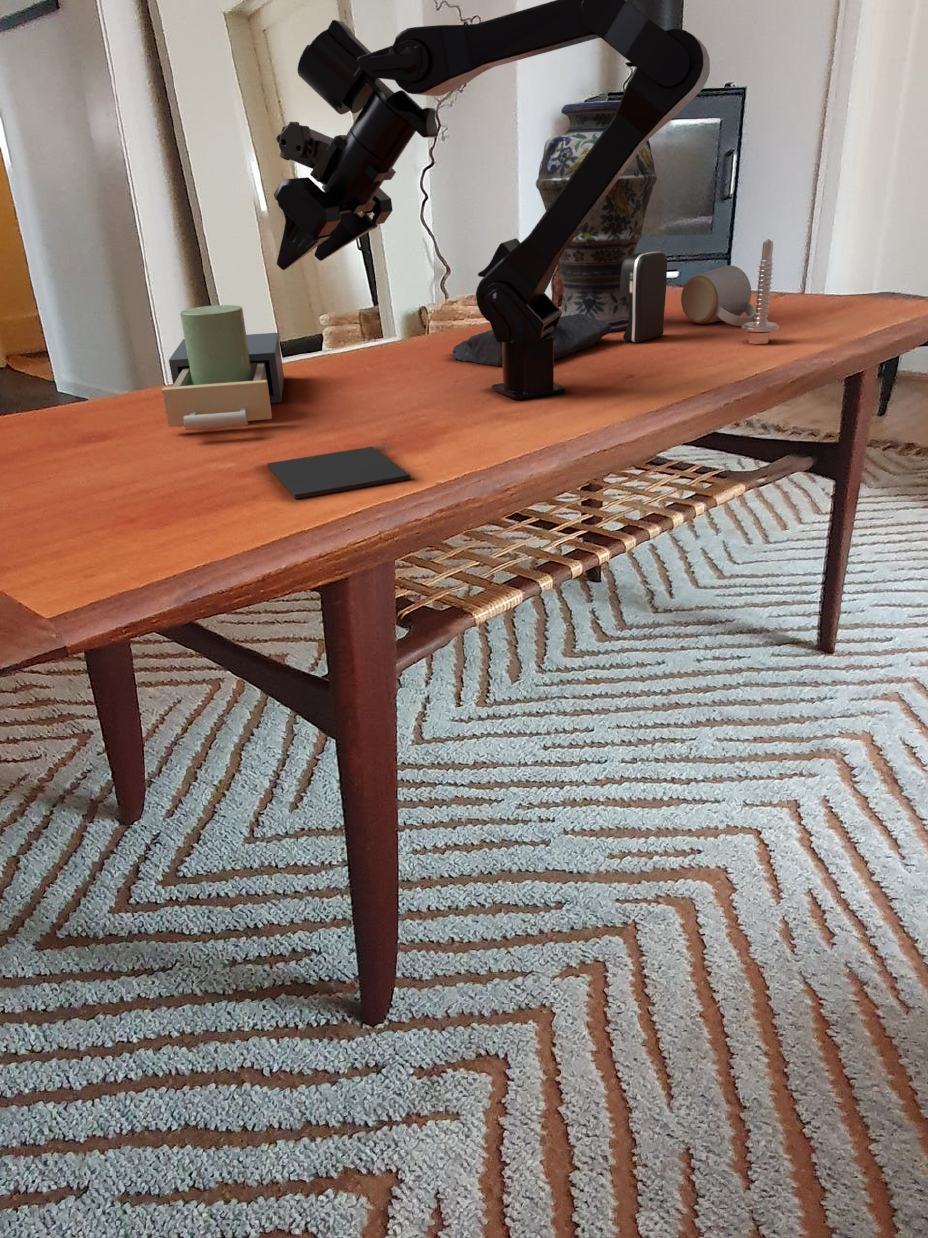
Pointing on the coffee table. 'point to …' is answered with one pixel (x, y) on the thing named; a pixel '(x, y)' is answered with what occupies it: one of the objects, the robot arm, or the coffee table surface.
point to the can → (216, 344)
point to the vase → (597, 216)
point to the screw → (762, 300)
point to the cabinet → (259, 350)
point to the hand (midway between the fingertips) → (299, 262)
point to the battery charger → (644, 294)
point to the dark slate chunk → (567, 335)
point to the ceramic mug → (718, 297)
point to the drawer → (217, 401)
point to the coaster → (336, 472)
